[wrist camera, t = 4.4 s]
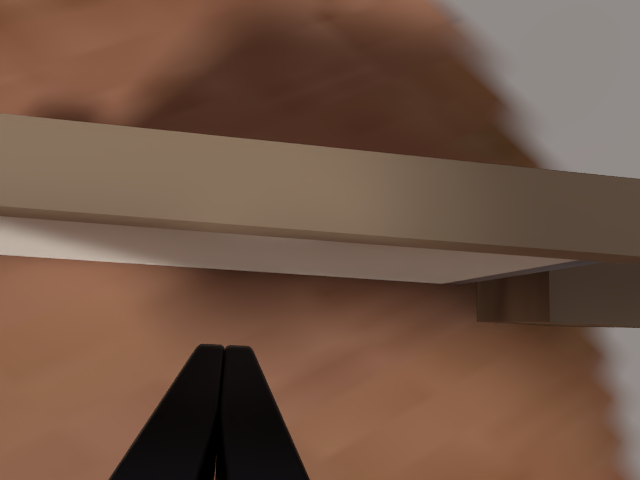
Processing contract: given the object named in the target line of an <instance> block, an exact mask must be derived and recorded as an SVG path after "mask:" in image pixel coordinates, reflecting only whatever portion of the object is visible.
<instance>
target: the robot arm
mask: <svg viewBox="0 0 640 480" xmlns="http://www.w3.org/2000/svg"><path fill="white" fill-rule="evenodd" d="M224 353H225V355H224ZM216 455H217V457H216ZM215 467H216V473H215ZM214 476H215V480H310V479H309V477H308V474H307V472H306V470H305V468H304V465H303V463H302V461H301V459H300V456H299V454H298V452H297V449H296V447H295V445H294V443H293V440H292V438H291V436H290V433H289V431H288V429H287V427H286V424H285V422H284V420H283V417H282V415H281V413H280V411H279V408H278V406H277V404H276V402H275V399H274V397H273V395H272V392H271V390H270V388H269V386H268V383H267V381H266V379H265V376H264V374H263V372H262V370H261V367H260V365H259V363H258V361H257V358H256V356H255V354H254V351H253V350H252V348H251V347H249V346H238V345H228V346H227V347H226V348H224V346H222V345H216V344H200V345H198V346H197V348H196V349H195V350H194V352H193V353H192V355H191V356H190V358H189V359H188V361H187V362H186V364H185V365H184V367H183V368H182V370H181V371H180V373H179V374H178V376H177V377H176V379H175V380H174V382H173V383H172V385H171V386H170V388H169V389H168V391H167V392H166V394H165V395H164V397H163V398H162V400H161V401H160V403H159V404H158V406H157V407H156V409H155V410H154V412H153V413H152V415H151V416H150V418H149V419H148V421H147V422H146V424H145V425H144V427H143V428H142V430H141V431H140V433H139V434H138V436H137V438H136V439H135V441H134V442H133V444H132V445H131V447H130V448H129V450H128V451H127V453H126V454H125V456H124V457H123V459H122V460H121V462H120V463H119V465H118V466H117V468H116V469H115V471H114V472H113V474H112V475H111V477H110V478H109V480H214Z"/></svg>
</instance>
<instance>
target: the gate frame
mask: <svg viewBox="0 0 640 480" xmlns="http://www.w3.org/2000/svg"><path fill="white" fill-rule="evenodd" d="M477 322H495V323H513V324H531V325H549V326H575V327H630V328H631V327H632V328H640V262H636V263H629V264H624V263H611V262H602V263H596V264H589V265H583V266H576V267H570V268H564V269H557V270H551V271H544V272H538V273H532V274H525V275H519V276H512V277H506V278H500V279H493V280H487V281H480V282H477Z"/></svg>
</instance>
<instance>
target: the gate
mask: <svg viewBox="0 0 640 480" xmlns="http://www.w3.org/2000/svg"><path fill="white" fill-rule="evenodd" d="M0 255H13V256H28V257H43V258H58V259H73V260H89V261H104V262H119V263H134V264H149V265H165V266H180V267H195V268H210V269H225V270H240V271H256V272H271V273H286V274H301V275H316V276H331V277H347V278H362V279H377V280H392V281H407V282H423V283H438V284H444V283H450V282H451V283H453V284H456V285H461V284H468V283H474V282H480V281H487V280H493V279H500V278H506V277H512V276H519V275H525V274H532V273H538V272H544V271H551V270H557V269H564V268H570V267H576V266H583V265H589V264H596V263H602V262H611V263H624V264H629V263H636V262H640V179H635V178H625V177H615V176H605V175H595V174H585V173H576V172H566V171H557V170H547V169H537V168H527V167H518V166H508V165H498V164H489V163H479V162H469V161H459V160H450V159H440V158H430V157H420V156H411V155H401V154H391V153H381V152H372V151H362V150H352V149H342V148H333V147H323V146H313V145H304V144H294V143H284V142H274V141H265V140H255V139H245V138H235V137H226V136H216V135H206V134H196V133H187V132H177V131H167V130H157V129H148V128H138V127H128V126H119V125H109V124H99V123H89V122H80V121H70V120H60V119H50V118H41V117H31V116H21V115H11V114H2V113H0Z"/></svg>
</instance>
